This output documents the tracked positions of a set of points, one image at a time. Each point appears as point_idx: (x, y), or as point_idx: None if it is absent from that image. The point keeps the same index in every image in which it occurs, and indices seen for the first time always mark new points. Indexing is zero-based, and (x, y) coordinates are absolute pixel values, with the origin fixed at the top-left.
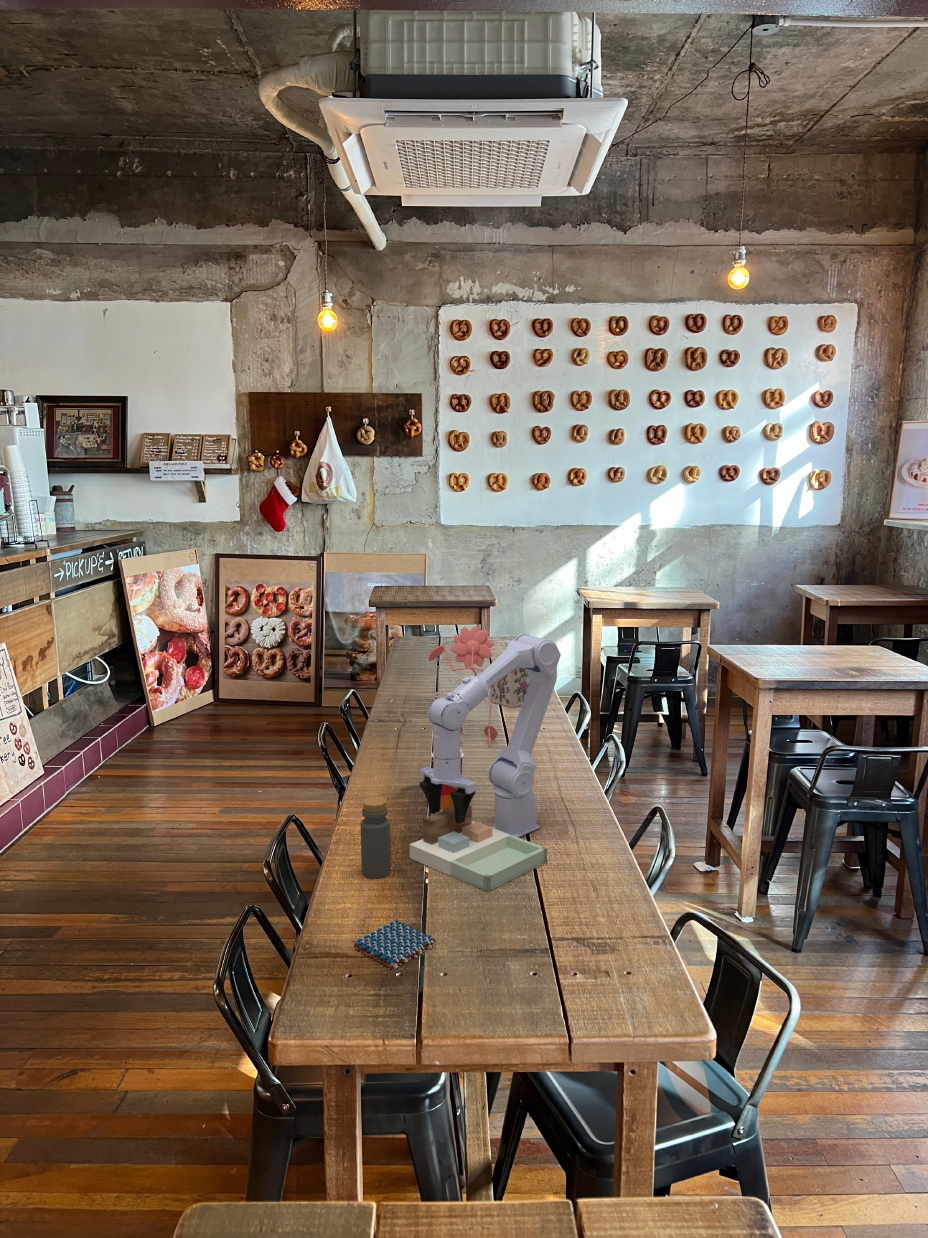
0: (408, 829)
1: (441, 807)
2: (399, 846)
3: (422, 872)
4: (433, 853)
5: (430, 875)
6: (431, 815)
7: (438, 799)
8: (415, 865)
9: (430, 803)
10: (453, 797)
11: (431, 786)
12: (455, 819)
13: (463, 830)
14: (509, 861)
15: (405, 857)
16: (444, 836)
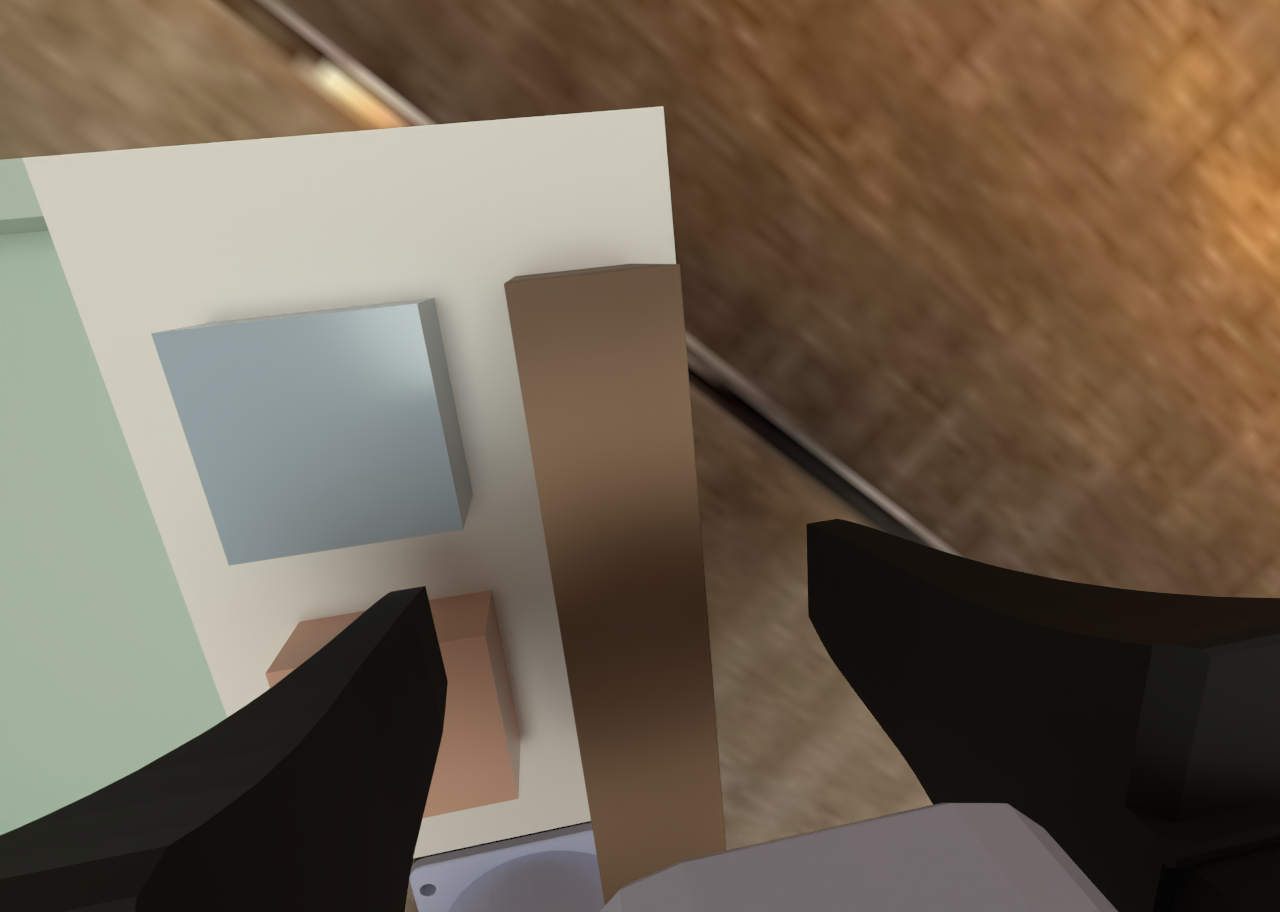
0: (1023, 447)
1: None
2: (865, 214)
3: (333, 28)
4: (319, 152)
5: (235, 44)
6: (690, 425)
7: (890, 703)
8: (494, 77)
9: (883, 559)
10: (108, 837)
11: (1088, 770)
12: (403, 601)
13: (469, 626)
14: (61, 676)
15: (676, 116)
16: (403, 377)
